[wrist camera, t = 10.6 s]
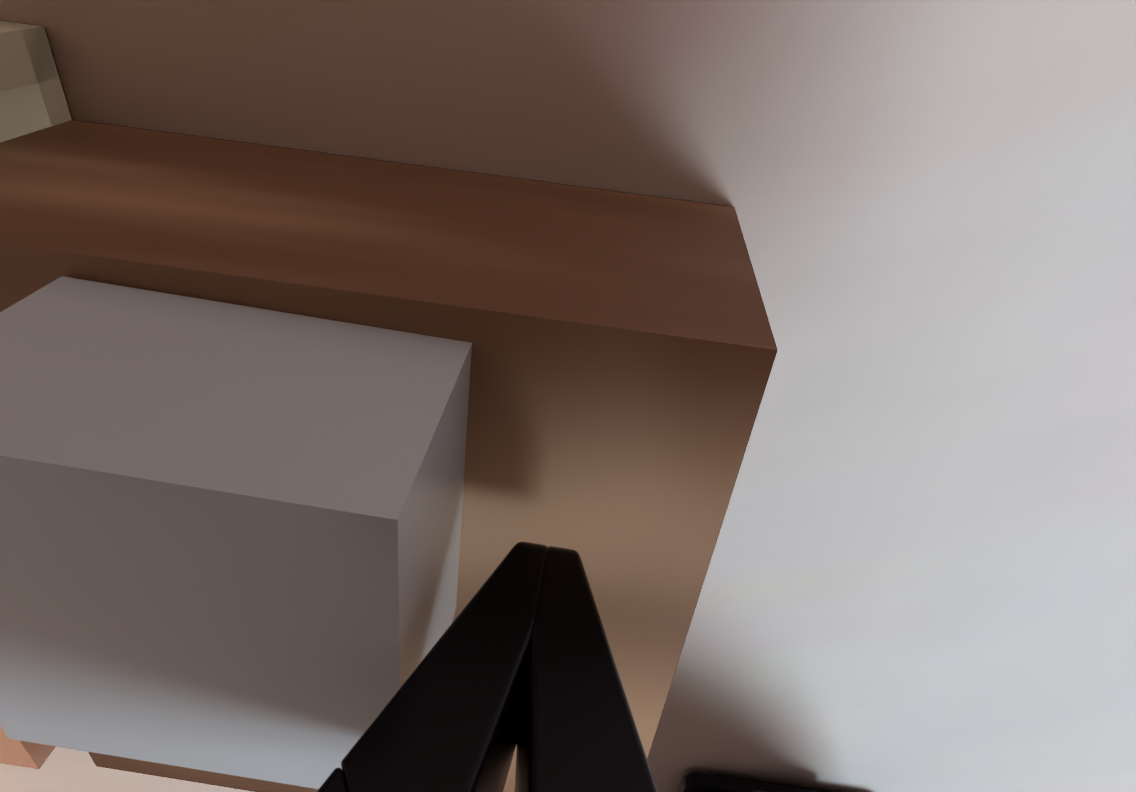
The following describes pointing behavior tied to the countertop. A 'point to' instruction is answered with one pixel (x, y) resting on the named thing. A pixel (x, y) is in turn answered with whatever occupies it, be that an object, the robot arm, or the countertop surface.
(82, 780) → the countertop surface
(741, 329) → the walnut block
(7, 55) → the sage tray
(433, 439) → the pale grey squat block
